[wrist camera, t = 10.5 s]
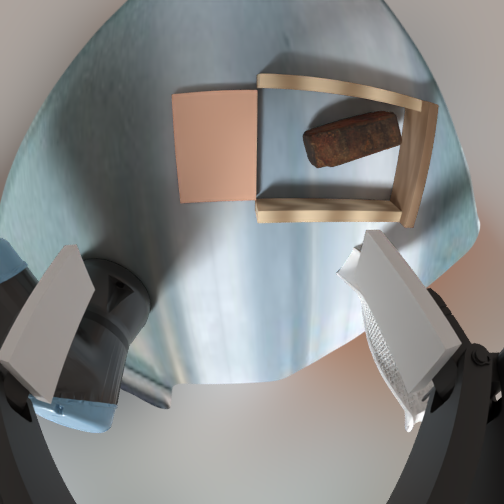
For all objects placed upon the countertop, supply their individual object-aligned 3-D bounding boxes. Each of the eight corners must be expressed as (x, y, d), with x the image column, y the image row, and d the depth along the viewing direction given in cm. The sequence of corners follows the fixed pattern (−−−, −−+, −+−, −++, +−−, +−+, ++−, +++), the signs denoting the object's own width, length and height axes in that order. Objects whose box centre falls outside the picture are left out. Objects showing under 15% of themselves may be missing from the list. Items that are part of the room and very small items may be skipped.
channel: (255, 209, 34) (259, 229, 30) (256, 75, 24) (261, 72, 20) (395, 210, 35) (413, 227, 31) (414, 99, 26) (438, 105, 22)
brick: (375, 109, 27) (397, 111, 23) (383, 139, 29) (404, 145, 25) (297, 132, 28) (310, 135, 24) (308, 163, 30) (322, 172, 26)
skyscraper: (388, 254, 40) (478, 405, 17) (363, 288, 43) (430, 438, 20) (352, 239, 38) (449, 418, 15) (327, 277, 41) (391, 452, 18)
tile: (181, 199, 32) (180, 203, 31) (173, 94, 25) (171, 94, 24) (255, 196, 33) (255, 200, 32) (256, 89, 25) (257, 90, 25)
